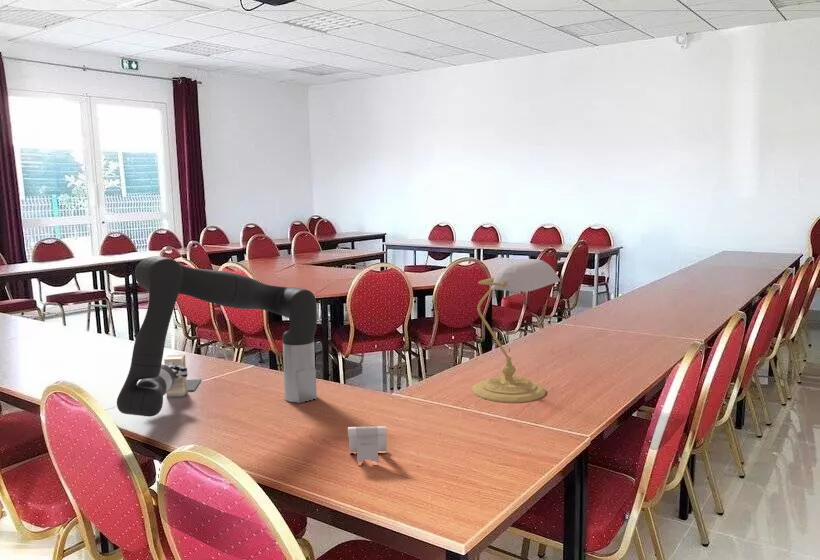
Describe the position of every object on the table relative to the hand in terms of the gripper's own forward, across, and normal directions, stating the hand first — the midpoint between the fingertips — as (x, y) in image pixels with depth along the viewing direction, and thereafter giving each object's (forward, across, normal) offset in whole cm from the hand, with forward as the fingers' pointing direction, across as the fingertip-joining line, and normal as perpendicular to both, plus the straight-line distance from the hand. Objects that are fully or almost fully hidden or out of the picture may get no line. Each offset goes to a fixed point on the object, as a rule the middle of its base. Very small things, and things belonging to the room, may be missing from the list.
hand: (171, 365), depth 194 cm
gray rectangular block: (+13, 0, +10) cm, 17 cm away
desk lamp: (-9, -101, +11) cm, 102 cm away
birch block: (+4, 0, +10) cm, 11 cm away
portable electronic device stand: (-53, -55, +11) cm, 77 cm away
